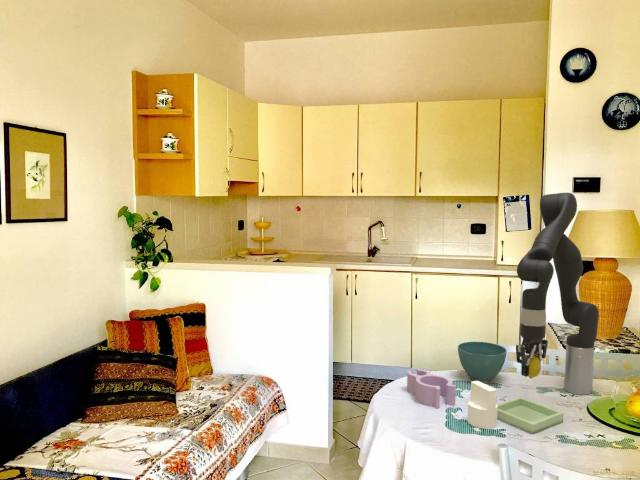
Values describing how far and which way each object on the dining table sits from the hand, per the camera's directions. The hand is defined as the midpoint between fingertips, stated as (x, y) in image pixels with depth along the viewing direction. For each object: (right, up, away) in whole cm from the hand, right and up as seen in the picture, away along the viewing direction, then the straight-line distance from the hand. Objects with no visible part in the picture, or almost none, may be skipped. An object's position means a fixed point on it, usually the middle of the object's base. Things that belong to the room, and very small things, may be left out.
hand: (530, 373), depth 173 cm
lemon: (0, -2, 0) cm, 2 cm away
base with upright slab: (-16, -15, -1) cm, 22 cm away
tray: (-1, -15, +2) cm, 15 cm away
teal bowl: (-4, -12, +39) cm, 41 cm away
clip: (-28, -14, +20) cm, 37 cm away
